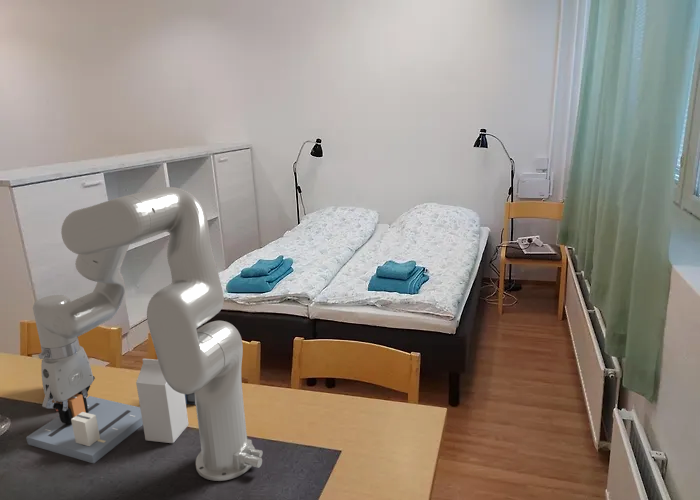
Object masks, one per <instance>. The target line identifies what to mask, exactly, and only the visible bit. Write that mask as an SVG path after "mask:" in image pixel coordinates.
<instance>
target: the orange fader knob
mask: <svg viewBox="0 0 700 500" xmlns="http://www.w3.org/2000/svg"><path fill="white" fill-rule="evenodd" d="M67 400H68V408H69V409H71V414H72V418H74V417H75V416H77V415H78V414H80V413H81V412H85V413H86V411H85V406H84V401H83V396H82V395H81V394H75V395H74V396H72V397H71V398H69V399H67Z"/></svg>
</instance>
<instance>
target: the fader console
mask: <svg viewBox="0 0 700 500" xmlns="http://www.w3.org/2000/svg"><path fill="white" fill-rule="evenodd" d="M86 400H87V406H88V413H89V414H93V415H96V419H97V424H98V429H99V435H100V439H99V440H97V441H96V442H95V443H93V444H92V445H91V446H86V445H83V444H79V443H76V441H75V436H74V431H73V426H72V424H71V425H70V424H66V423H62V422H61V420H60V416H59V415H58V416H57V417H55V418H54V419H51V421H48V422H47V423H46V424H44V425H43V426H40V427H39V428H38V429H36V430H35V431H33V432H32V433H29V435H27V436H26V438H25V439H26V442H27V445H28V446H32V447H36V448H39V449H43V450H46V451H50V452H53V453H57V454H60V455H63V456H67V457H70V458H72V459H73V458H74V459H78V460H81V461H84V462H88V463H90V464H96V462H98V461H99V460H100V459H101V458H103V457H104V456H106V454H108V453H109V452H110V451H112V450H113V449H114V448H116V446H118V445H119V444H120V443H121V442H123V441H124V440H125V439H127V438H128V437H129V436H131V435H132V434H133V433H134V432H135V431H137V430H138V429H139V428H141V427H142V426H143V422H142V415H141V409H140V406H137V405H135V406H134V405H131V404H126V403H122V402H118V401H114V400H109V399H106V398H101V397H95V396H92V395H88V397H87V398H86Z"/></svg>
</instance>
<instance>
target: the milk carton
mask: <svg viewBox="0 0 700 500" xmlns="http://www.w3.org/2000/svg"><path fill="white" fill-rule="evenodd" d="M135 381H136V382H135V384H136V389H137V396H138V401H139V407H140V409H141V415H142V422H143V425H142V426H143V432H144V439H145V441H149V442H160V443H169V444H174V443H175V441H176V440H177V439H178V438H179V437H180V436H181V435H182V433H183V432H184V431H185V430H186V429H187V427H188V426H189V418H188V410H187V404H186V402H185V394H181V393H179V392H177V391H175V390H173V389H172V388H171V387H170V386H169V385H168V383H167V382H166V380H165V378H164V376H163V374H162V372H161V369H160V365H159V362H158V359H152V358H142V365H141V368H140V371H139V373H138V376H137V379H136V380H135Z"/></svg>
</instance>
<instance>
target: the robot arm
mask: <svg viewBox="0 0 700 500" xmlns="http://www.w3.org/2000/svg"><path fill="white" fill-rule="evenodd" d="M209 227H210V226H209V222H208V217H207V215H206V211H205V209H204V207H203V205H202V204H201V202H200V201H199V200H198V198H196V197H195V196H194V194H192V193H191V192H189V191H187V190H185V189H183V188H179V187H173V186H163V187H157V188H156V187H155V188H152V189H147V190H144V191H141V192H136V193H132V194H127V195H123V196H120V197H115V198H113V199H109V200H107V201H104V202H100V203H97V204H94V205H90V206H88V207H84V208H81V209H77V210H73V211H72V212H70V213H69V214H68V215H67V216H66V217H65V219H64V220H63V223H62V225H61V228H60V229H61V230H60V231H61V232H60V233H61V239H62V241H63V243H64V245H65V247H66V248H67V249H68V250H69V251H70V252H72V253H74V254H75V255H77V257H76V259H75V268H76V271H77V272H78V273H79V274H80V275H81V276H82V277H84V278H85V279H86V280H88V281H89V280H90V281H91V282H95V283H96V285H95V287H94V289H93V291H92V292H90V293H87V294H85V295H83V296H81V297H80V296H79V298H76V299H74V300H72V301H71V298H69V297H68V296H67V295H64V294H53V295H46V296H44V297H41V298H39V299H38V300H36V301H35V302H34V303H33V307H32V310H33V315H34V320H35V325H36V330H37V334H38V339H39V343H40V348H41V352H40V353H38V355H37V356H38V358H39V359H40V360H41V365H40V366H41V370H40V371H41V381H42V388H43V393H44V399H43V401H42V405H41V407H42V408H44V409H55V410H56V409H58V411H57V413H58V416H60V420H61V422H62V423H66V424H70V425H71V424H72V421H71V419H72V414H71V409H69V408H68V400H67V399H69V398H71V397H72V396H74V395H75V394H81V395H82V396H83V401H84V406H85V411H86V413H88V406H87V400H86V398H88V397H89V394H88V393H89V390H90V388H91V385H92V384H93V382H94V381H95V379H96V378H95V376H94V374H93V371H92V366H91V364H90V361H89V357H88V355H87V353H86V351H85V349H84V347H83V346H81V345H80V341H79V338H78V337H80V336H82V335H84V334H86V333H88V332H90V331H92V330H93V329H95V328H97V327H99V326H102V325H103V324H105V323H106V322H108V321H110V320H111V319H112V318H113V317H115V316H116V315H117V313H118V311H119V310H120V307H121V305H122V302H123V300H124V296H125V294H126V284H125V280H124V277H123V274H122V273H121V272H120V270H121V268H122V265H123V262H124V260H125V258H126V255H127V252H128V250H129V247H130V245H132V244H136V243H139V242H141V241H145V240H147V239H150V238H152V237H155V236H158V235H160V234H163V233H168V234H169V238H168V243H167V248H166V249H167V251H166V257H167V263H168V266H169V270H170V275H171V284H169V285H167V286H165V287H163V288H161V289H159V290H158V291H156V292H155V293H154V294H153V295H152V297H150V300H149V302H148V303H147V304H148V305H147V309H146V320H147V326H148V331H149V333H150V338H151V340H152V344H153V348H154V350H155V354H156V358H157V360H158V362H159V365H160V369H161V372H162V374H163V376H164V378H165V380H166V382H167V383H168V385H169V386H170V387H171V388H172V389H173V390H175V391H177V392H179V393H181V394H191V393H194V392H195V403H196V404H195V409H196V410H195V411H196V417H197V426H198V432H199V440H200V448H201V451H200V452H199V453H198V455H197V456H196V458H195V469H196V473H197V474H198V475H199V476H200V477H202V478H204V479H206V480H208V481H209V480H210V481H213V482H214V481H216V482H217V481H218V482H221V481H228V480H232V479H236V478H238V477H240V476H242V475H244V474H245V473H247V472H248V471H249V470H250V469H251V468H252V467H254V468H259V469H260V467H261V466H262V464H263V459H262V456H263V450H261V449H256V448H255V446H254V445H253V440H252V439H249V438H248V435H247V425H246V424H247V423H246V415H245V405H244V404H245V403H244V393H243V383H242V381H243V380H242V367H243V366H242V364H243V362H242V361H243V355H244V354H243V353H244V352H243V351H244V350H243V346H244V345H243V340H242V336H241V334H240V332H239V330H238V329H237V328H236V327H235V326H234V325H233V324H232V323H230V322H228V321H226V320H225V321H224V320H214V321H210V320H211V319H212V318H214V317H215V316H216V315H217V314H219V313H220V312H221V310H222V309H223V307H224V305H225V297H224V292H223V287H222V282H221V278H220V275H219V269H218V267H217V262H216V258H215V255H214V251H213V247H212V241H211V235H210V228H209ZM208 321H210V322H208ZM207 322H208V323H207ZM203 324H204V325H203ZM53 397H54V401H53Z"/></svg>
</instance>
